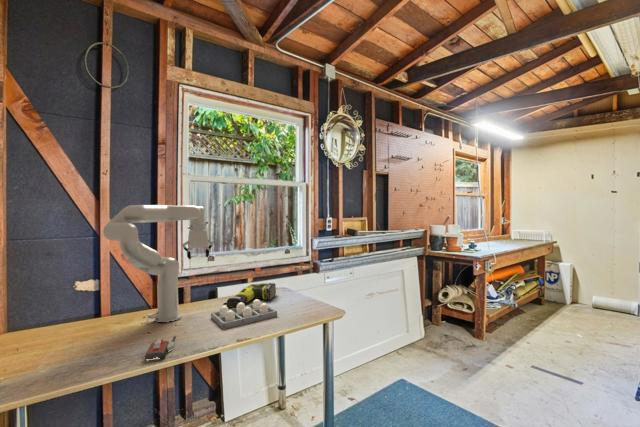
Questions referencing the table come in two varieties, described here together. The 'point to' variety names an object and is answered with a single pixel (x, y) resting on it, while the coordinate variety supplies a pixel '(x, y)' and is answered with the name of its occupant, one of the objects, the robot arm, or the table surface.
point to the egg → (247, 312)
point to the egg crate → (235, 315)
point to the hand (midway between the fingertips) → (198, 257)
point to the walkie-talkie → (159, 349)
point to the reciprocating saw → (252, 294)
